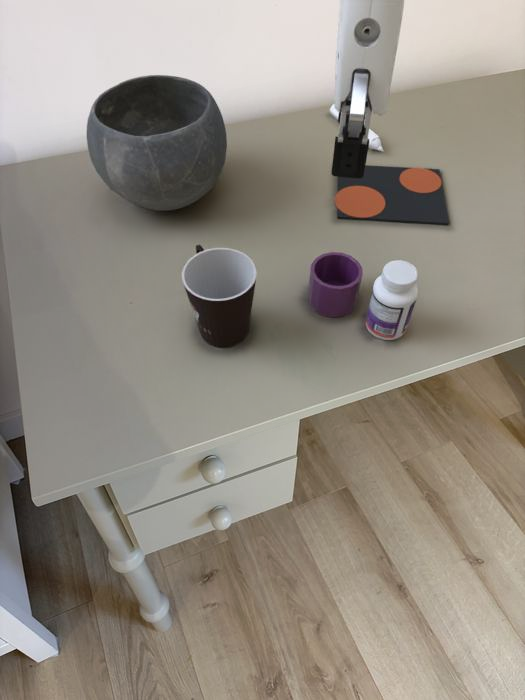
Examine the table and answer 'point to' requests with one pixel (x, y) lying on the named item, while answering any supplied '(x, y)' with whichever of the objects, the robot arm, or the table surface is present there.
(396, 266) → the pill bottle
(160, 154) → the bowl
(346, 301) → the cup
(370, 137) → the white pencil
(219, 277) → the coffee mug
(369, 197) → the placemat
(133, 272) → the table surface
